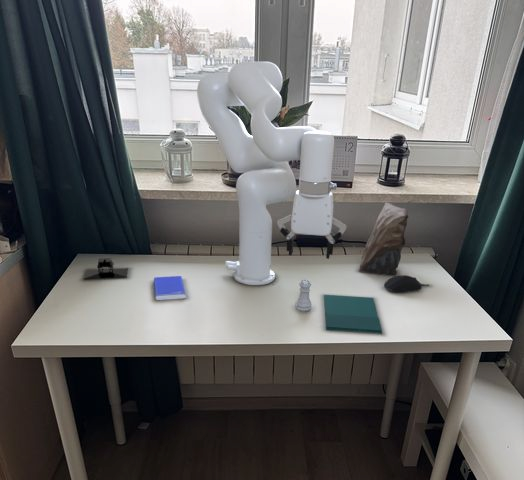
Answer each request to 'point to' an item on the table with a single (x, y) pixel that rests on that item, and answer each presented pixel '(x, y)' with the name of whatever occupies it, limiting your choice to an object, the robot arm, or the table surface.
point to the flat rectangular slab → (351, 314)
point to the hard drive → (169, 288)
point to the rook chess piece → (304, 296)
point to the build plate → (106, 270)
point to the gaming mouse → (403, 284)
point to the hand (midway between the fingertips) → (309, 255)
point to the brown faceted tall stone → (385, 242)
